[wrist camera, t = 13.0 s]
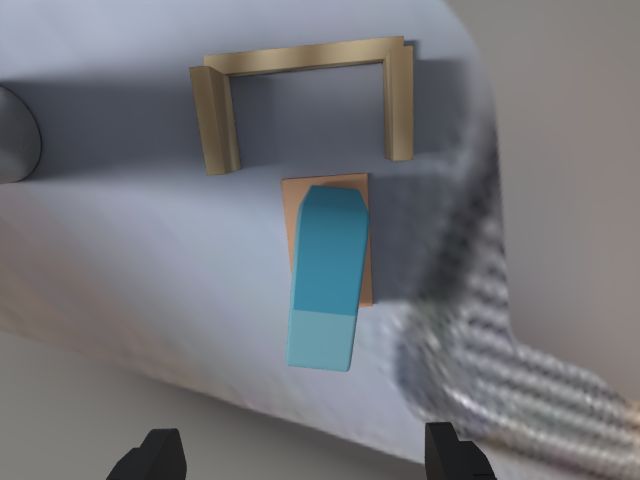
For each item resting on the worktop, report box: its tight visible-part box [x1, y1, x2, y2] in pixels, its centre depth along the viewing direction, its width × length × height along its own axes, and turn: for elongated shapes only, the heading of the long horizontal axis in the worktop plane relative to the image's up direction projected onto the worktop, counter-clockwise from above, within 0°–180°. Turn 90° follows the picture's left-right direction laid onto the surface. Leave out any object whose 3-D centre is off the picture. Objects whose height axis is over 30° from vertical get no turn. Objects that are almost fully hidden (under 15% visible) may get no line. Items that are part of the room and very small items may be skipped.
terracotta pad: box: [281, 173, 373, 307], centre depth 34 cm, size 8×14×1 cm, turn 5°
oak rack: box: [189, 36, 413, 176], centre depth 29 cm, size 16×10×5 cm, turn 95°
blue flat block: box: [286, 185, 369, 372], centre depth 28 cm, size 12×4×12 cm, turn 175°
